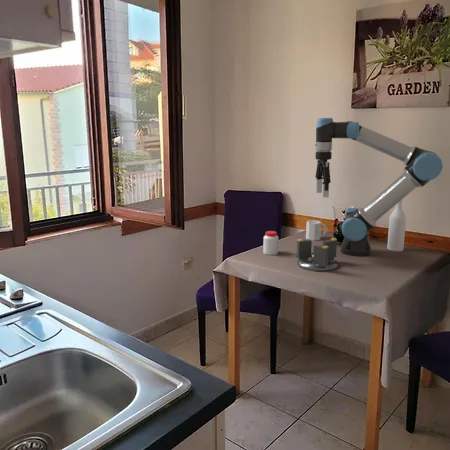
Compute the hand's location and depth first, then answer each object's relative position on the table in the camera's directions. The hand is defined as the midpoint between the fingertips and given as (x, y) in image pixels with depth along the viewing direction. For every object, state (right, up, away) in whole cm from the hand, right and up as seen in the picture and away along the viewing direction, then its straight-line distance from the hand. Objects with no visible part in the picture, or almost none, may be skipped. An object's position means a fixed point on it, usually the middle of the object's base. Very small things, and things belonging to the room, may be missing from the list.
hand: (322, 195), depth 223 cm
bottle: (+42, -28, +18) cm, 54 cm away
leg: (-4, -33, -13) cm, 36 cm away
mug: (+5, -23, +40) cm, 46 cm away
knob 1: (-9, -31, -3) cm, 32 cm away
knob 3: (+3, -31, -3) cm, 31 cm away
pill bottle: (-24, -29, +13) cm, 40 cm away
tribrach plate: (-3, -34, -6) cm, 34 cm away
